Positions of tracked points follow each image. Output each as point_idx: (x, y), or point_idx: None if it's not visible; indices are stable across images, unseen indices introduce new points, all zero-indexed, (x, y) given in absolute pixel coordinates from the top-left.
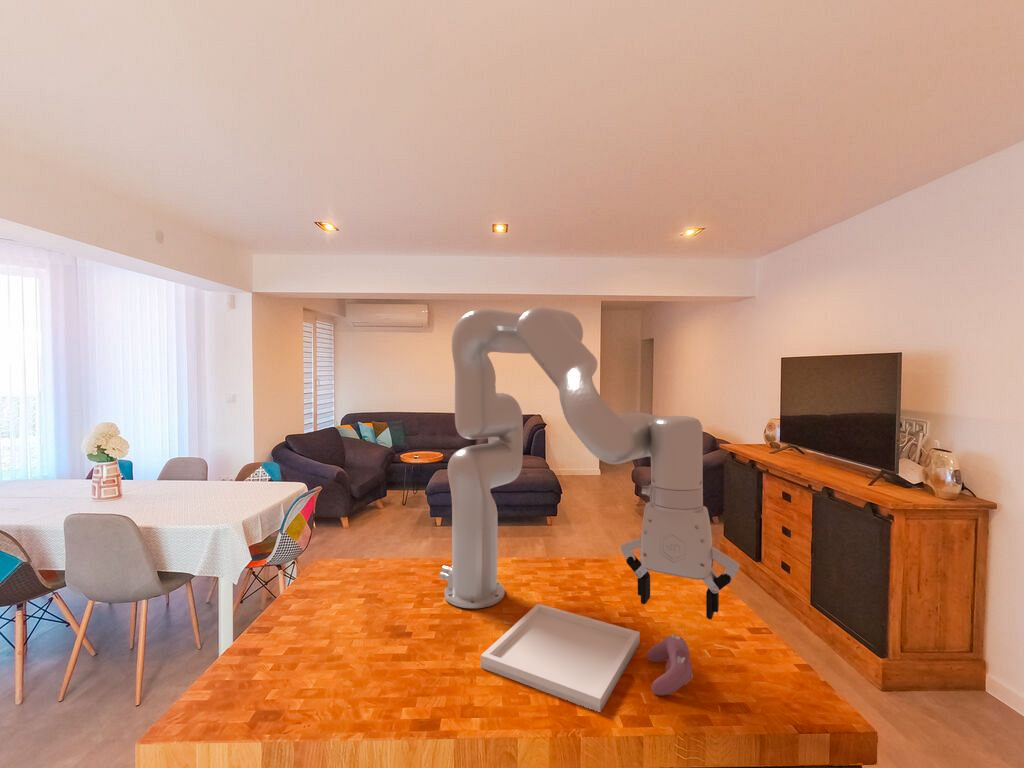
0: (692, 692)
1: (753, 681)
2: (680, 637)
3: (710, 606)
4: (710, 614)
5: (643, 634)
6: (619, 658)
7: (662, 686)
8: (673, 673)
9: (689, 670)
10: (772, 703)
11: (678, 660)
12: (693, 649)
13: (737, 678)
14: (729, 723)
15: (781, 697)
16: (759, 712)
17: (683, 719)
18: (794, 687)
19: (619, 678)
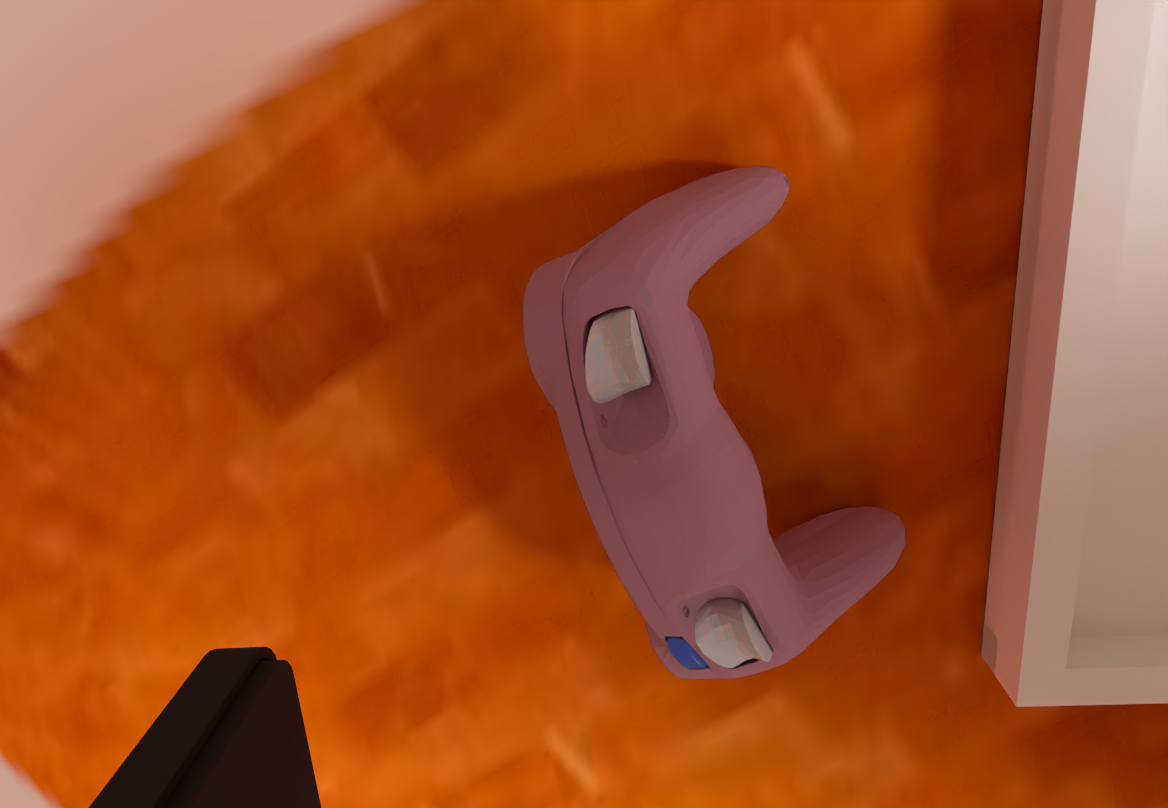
0: None
1: (286, 634)
2: (698, 662)
3: (122, 787)
4: (192, 688)
5: (977, 759)
6: (1095, 304)
7: (713, 180)
8: (648, 234)
9: (536, 307)
10: (152, 497)
11: (627, 321)
12: (652, 757)
13: (365, 616)
14: (289, 175)
15: (130, 574)
16: (184, 378)
17: (530, 36)
18: (103, 691)
19: (1025, 199)
